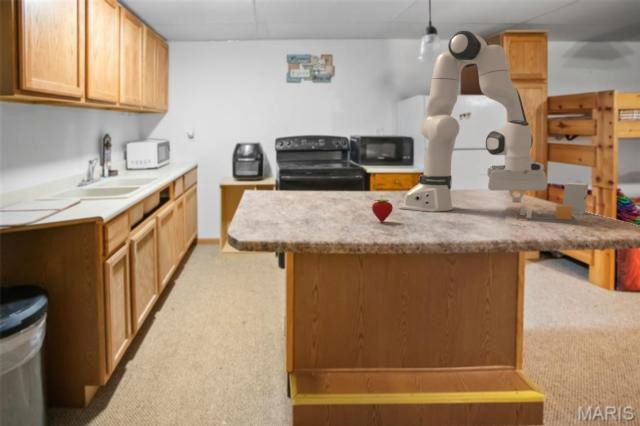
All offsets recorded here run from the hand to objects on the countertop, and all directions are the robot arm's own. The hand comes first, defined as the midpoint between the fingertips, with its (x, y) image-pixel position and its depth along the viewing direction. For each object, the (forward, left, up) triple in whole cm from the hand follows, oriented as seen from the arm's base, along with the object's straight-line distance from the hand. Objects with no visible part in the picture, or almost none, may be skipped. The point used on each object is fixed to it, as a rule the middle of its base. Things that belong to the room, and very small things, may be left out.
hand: (516, 202), depth 182 cm
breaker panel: (+11, +2, -7) cm, 13 cm away
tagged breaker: (+5, -1, -6) cm, 7 cm away
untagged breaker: (+3, +5, -6) cm, 8 cm away
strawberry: (-45, -23, -7) cm, 51 cm away
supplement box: (+22, +19, -7) cm, 30 cm away
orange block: (+17, +5, -6) cm, 18 cm away
